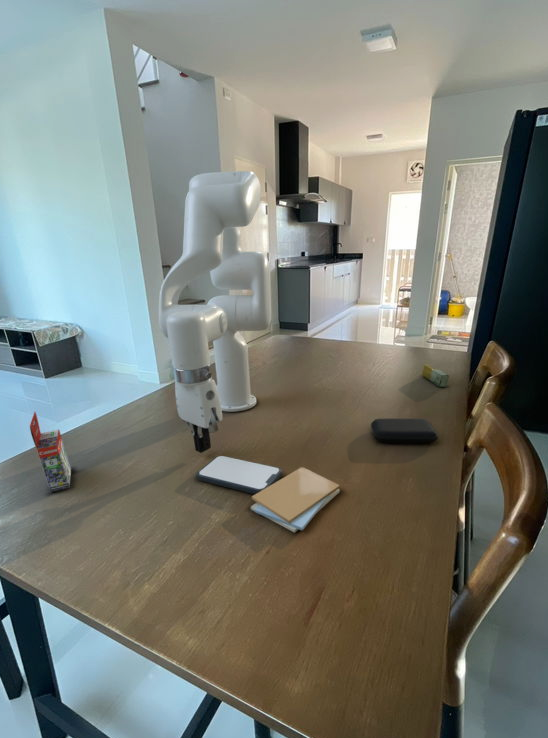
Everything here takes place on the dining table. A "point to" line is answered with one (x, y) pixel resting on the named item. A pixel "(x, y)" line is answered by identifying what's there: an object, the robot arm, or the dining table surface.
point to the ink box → (51, 456)
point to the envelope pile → (295, 498)
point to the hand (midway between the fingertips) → (203, 449)
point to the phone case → (239, 474)
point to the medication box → (435, 375)
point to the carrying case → (403, 430)
